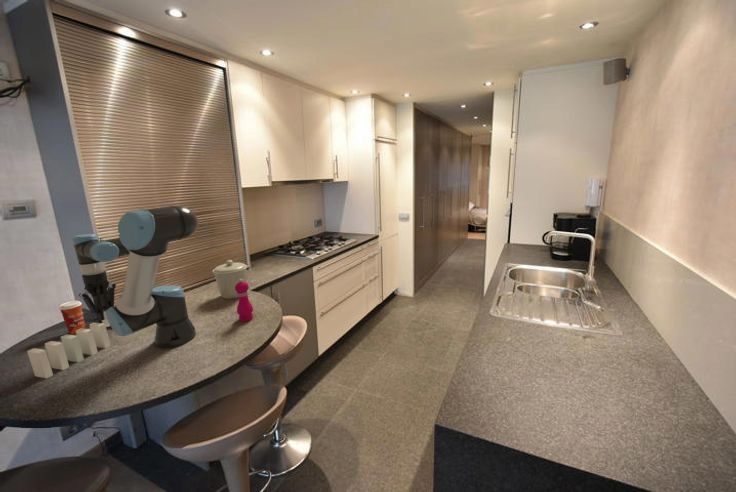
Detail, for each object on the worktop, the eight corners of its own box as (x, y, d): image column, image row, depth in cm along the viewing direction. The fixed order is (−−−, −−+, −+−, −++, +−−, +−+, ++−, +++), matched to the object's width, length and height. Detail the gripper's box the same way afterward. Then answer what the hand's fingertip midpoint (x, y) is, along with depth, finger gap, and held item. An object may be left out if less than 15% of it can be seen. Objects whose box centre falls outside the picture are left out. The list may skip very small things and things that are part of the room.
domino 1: (53, 374, 115) (46, 349, 113) (46, 378, 113) (38, 353, 111) (42, 372, 117) (34, 347, 115) (35, 376, 115) (27, 351, 113)
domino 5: (110, 345, 134) (105, 323, 132) (105, 348, 132) (99, 326, 130) (100, 344, 136) (94, 322, 133) (95, 346, 134) (89, 324, 131)
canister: (243, 301, 175) (238, 264, 170) (210, 302, 175) (204, 265, 170) (255, 289, 192) (251, 255, 187) (225, 290, 193) (220, 256, 188)
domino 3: (84, 359, 125) (77, 335, 122) (78, 362, 123) (71, 338, 120) (73, 357, 126) (67, 334, 124) (67, 360, 124) (60, 336, 122)
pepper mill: (234, 320, 152) (228, 280, 147) (245, 314, 158) (240, 275, 154) (246, 322, 149) (241, 282, 145) (257, 316, 156) (252, 277, 151)
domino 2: (69, 366, 120) (62, 342, 118) (63, 370, 118) (55, 345, 116) (58, 364, 122) (51, 340, 120) (51, 367, 120) (44, 343, 118)
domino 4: (98, 352, 129) (92, 329, 127) (92, 355, 127) (86, 332, 125) (87, 350, 131) (81, 327, 129) (81, 353, 129) (75, 330, 127)
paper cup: (75, 336, 143) (67, 307, 140) (61, 335, 145) (53, 306, 142) (93, 328, 151) (85, 300, 147) (80, 327, 152) (72, 299, 149)
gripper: (104, 267, 137) (116, 318, 143) (68, 277, 125) (83, 332, 131) (117, 268, 135) (128, 319, 140) (82, 278, 123) (96, 334, 128)
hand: (107, 325), depth 135 cm, fingers closed
